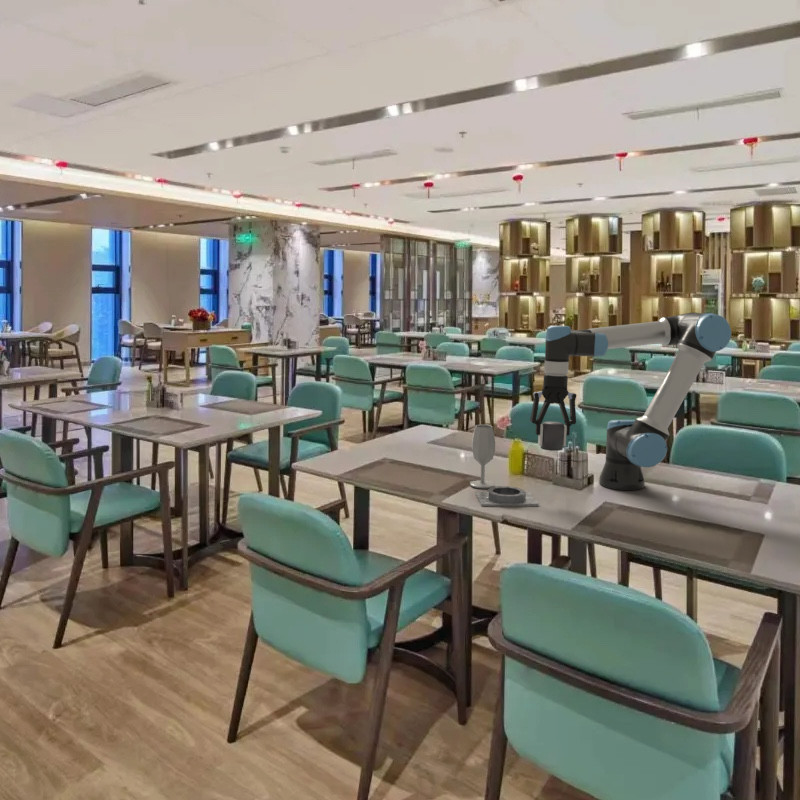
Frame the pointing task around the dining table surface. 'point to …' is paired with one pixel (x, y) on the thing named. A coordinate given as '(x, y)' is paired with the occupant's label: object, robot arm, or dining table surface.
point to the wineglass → (483, 452)
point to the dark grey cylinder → (552, 436)
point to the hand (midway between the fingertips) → (551, 445)
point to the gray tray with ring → (506, 497)
